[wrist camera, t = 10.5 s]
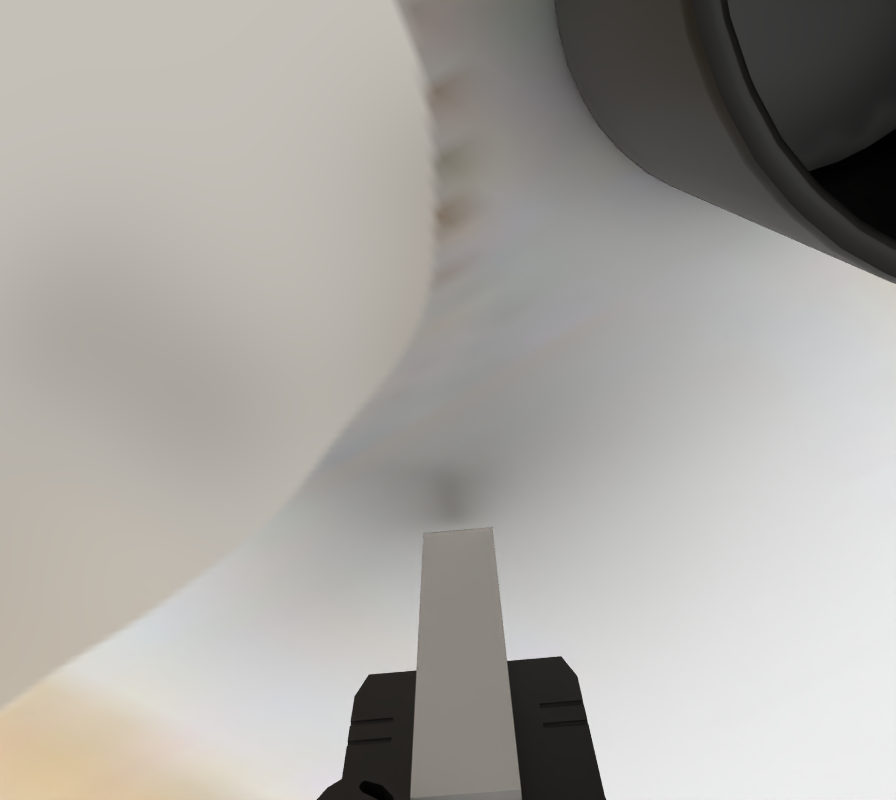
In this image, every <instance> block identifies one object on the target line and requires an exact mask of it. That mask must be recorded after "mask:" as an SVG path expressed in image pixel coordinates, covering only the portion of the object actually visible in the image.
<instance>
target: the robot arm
mask: <svg viewBox="0 0 896 800" xmlns="http://www.w3.org/2000/svg"><path fill="white" fill-rule="evenodd" d="M317 800H606V798H605V795H604V791H603V786H602V782H601V778H600V773H599V769H598V764H597V760H596V756H595V751H594V747H593V743H592V738H591V734H590V730H589V725H588V722H587V716H586V712H585V708H584V705H583V699H582V695H581V690H580V686H579V682H578V677H577V675H576V674H575V673H574V672H573V670H572V669H571V668H570V667H569V665H568V664H567V663H566V662H565V661H564V659H563V658H562V657H561V656H560V657H549V658H537V659H525V660H514V661H507V657H506V648H505V639H504V630H503V621H502V612H501V603H500V593H499V584H498V575H497V566H496V557H495V548H494V539H493V530H492V527H489V528H478V529H467V530H456V531H445V532H435V533H424V535H423V555H422V575H421V594H420V614H419V634H418V654H417V671H406V672H394V673H382V674H371V675H368V677H367V678H366V680H365V681H364V683H363V685H362V686H361V688H360V689H359V691H358V692H357V694H356V695H355V697H354V704H353V710H352V717H351V726H350V730H349V736H348V746H347V749H346V756H345V762H344V769H343V776H342V779H341V780H340V781H338V782H336V783H335V784H333V785H331V786H330V787H328V788H327V789H326V790H325V791H324V792H323V793H322V794H321V796H320V797H319V798H318V799H317Z"/></svg>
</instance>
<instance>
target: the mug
mask: <svg viewBox="0 0 896 800" xmlns="http://www.w3.org/2000/svg"><path fill="white" fill-rule="evenodd" d="M555 8H556V17H557V23H558V29H559V34H560V38H561V42H562V46H563V50H564V54H565V58H566V62H567V65H568V67H569V69H570V72H571V74H572V77H573V79H574V81H575V84H576V86H577V89H578V91H579V93H580V95H581V97H582V99H583V101H584V102H585V104H586V106H587V107H588V109H589V111H590V112H591V114H592V115H593V117H594V119H595V120H596V122H597V123H598V125H599V127H600V128H601V129H602V130H603V131H604V132H605V134H606V135H607V136H608V137H609V138H610V139H611V140H612V142H613V143H614V144H615V145H616V146H617V147H618V148H619V149H620V150H621V151H622V152H623V153H624V154H625V155H626V156H627V157H628V158H630V159H631V160H632V161H633V162H635V163H636V164H637V165H638V166H640V167H641V168H642V169H643V170H645V171H646V172H647V173H648V174H650V175H652V176H654V177H656V178H657V179H659V180H661V181H663V182H665V183H667V184H668V185H670V186H672V187H675V188H677V189H679V190H681V191H684V192H686V193H688V194H690V195H693V196H695V197H697V198H700V199H702V200H704V201H707V202H709V203H711V204H713V205H716V206H718V207H720V208H723V209H725V210H727V211H729V212H732V213H734V214H736V215H739V216H741V217H743V218H745V219H748V220H750V221H752V222H755V223H757V224H759V225H761V226H764V227H766V228H768V229H771V230H773V231H775V232H777V233H780V234H782V235H784V236H787V237H789V238H791V239H794V240H796V241H798V242H800V243H803V244H805V245H807V246H810V247H812V248H814V249H816V250H819V251H821V252H823V253H826V254H828V255H830V256H832V257H835V258H837V259H839V260H842V261H844V262H846V263H848V264H851V265H853V266H855V267H858V268H860V269H862V270H865V271H867V272H869V273H871V274H874V275H876V276H878V277H881V278H883V279H885V280H887V281H890V282H892V283H895V284H896V0H555Z"/></svg>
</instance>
